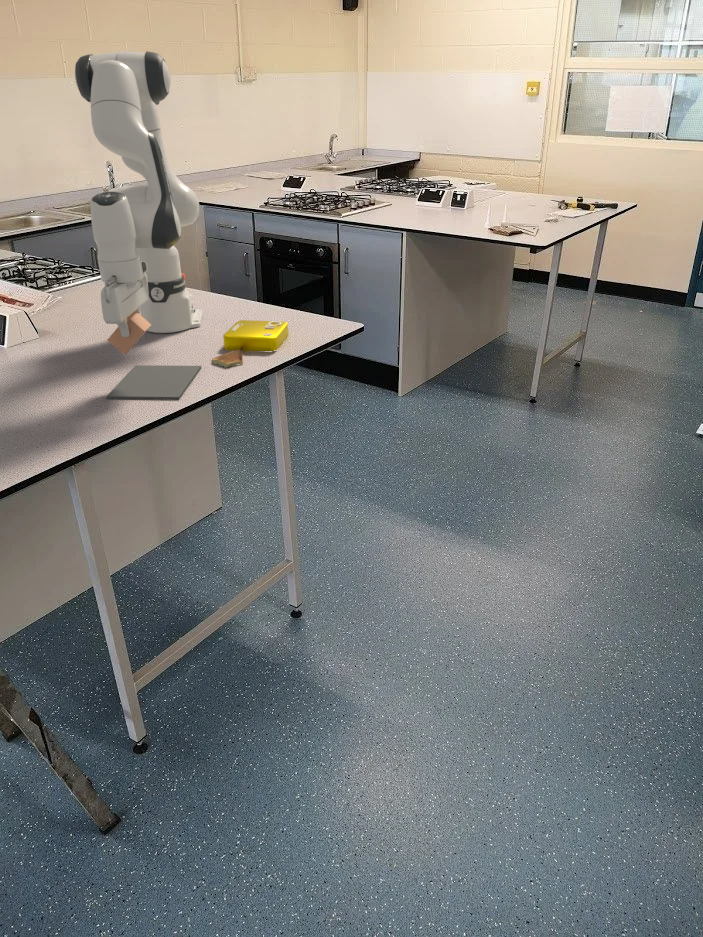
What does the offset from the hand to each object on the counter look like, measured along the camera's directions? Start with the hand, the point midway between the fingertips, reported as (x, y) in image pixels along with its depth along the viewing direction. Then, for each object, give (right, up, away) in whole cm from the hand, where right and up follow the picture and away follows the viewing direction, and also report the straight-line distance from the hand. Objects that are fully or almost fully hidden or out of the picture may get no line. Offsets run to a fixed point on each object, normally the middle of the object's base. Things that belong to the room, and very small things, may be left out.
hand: (131, 331), depth 167 cm
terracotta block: (-3, -3, +2) cm, 4 cm away
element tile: (+25, +2, +32) cm, 41 cm away
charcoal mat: (+4, -11, +7) cm, 14 cm away
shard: (+19, -4, +20) cm, 28 cm away
